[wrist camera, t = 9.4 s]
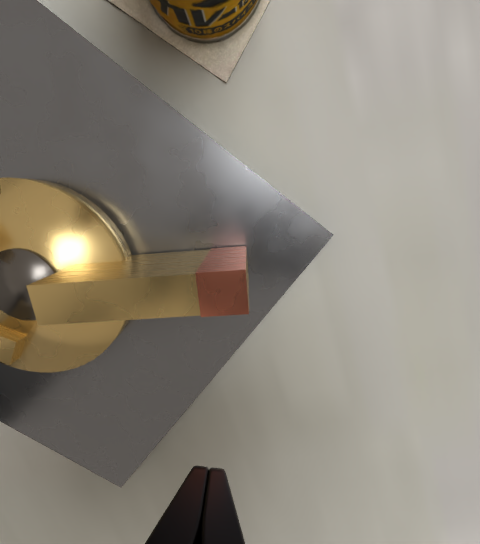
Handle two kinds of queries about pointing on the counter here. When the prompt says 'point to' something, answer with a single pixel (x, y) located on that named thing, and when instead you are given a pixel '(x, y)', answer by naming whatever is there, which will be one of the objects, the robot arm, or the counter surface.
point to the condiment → (201, 27)
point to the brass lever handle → (93, 279)
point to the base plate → (132, 237)
